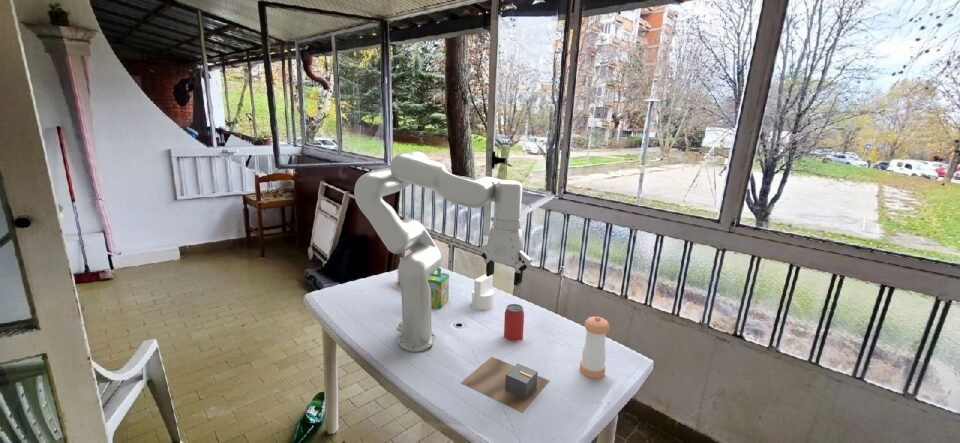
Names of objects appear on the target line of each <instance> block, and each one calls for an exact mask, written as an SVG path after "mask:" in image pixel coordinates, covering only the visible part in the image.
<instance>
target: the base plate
mask: <svg viewBox="0 0 960 443" xmlns="http://www.w3.org/2000/svg"><path fill="white" fill-rule="evenodd" d="M514 366H515V365H513V364H510V363H508V362H506V361H503V360H500V359H498V358H497V357H494V356H491V357H489V358H488V359H487V360H486V361H484V363H482V364H480V365H479V367H478V368H477V369H475V370H474V371H473V372H471V373H470V374H469V375H468V376H467V377H466V378H465V379H463V380H462V381H460V384H462V385H463V386H466V387H468V388H469V389H472V390H474V391H477V392H478V393H481V394H482V395H485V396H487V397H489V398H491V399H492V400H495V401H497V402H499V403H501V404H502V405H505V406H506V407H509V408H512V409H514V410H516V411H518V412H520V413H522V414H523V413H524V412H525V411H526V410H527V409H528V407H529V406H531V403H533V402H534V400H535V399H536V398H537V397H538V396H539V395H540V393H541V392H543V390H544V389H545V388H546V386H548V384H549V383H550V382H551V380H549V379H547V378H544V377H541V376H539V375H537V387H536V389H535V390H534V391H533V392H532V393H531V394H530V395H529V396H528V398H527V399H526V400H525V399H523V398H521V397H519V396H516V395H514V394H512V393H510V392H508V391H506V390H505V381H506V374H507V373H508V372H509V371H510V370H511V369H512V368H513V367H514Z"/></svg>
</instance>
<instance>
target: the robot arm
mask: <svg viewBox="0 0 960 443" xmlns="http://www.w3.org/2000/svg"><path fill="white" fill-rule="evenodd" d="M410 185H414V186H418V187H421V188H423V189H426V190H431V191H433V192H435V193H436V194H437V195H438V196H440V197H441V198H443V199H444V200H445V201H448V202H452V203H453V204H457V205H460V206H463V207H466V208H472V209H478V208H482V207H483V206H485V205H487V204H490V203H493V202H494V208H493V210H494V212H493V216H491V217H490V221H491V222H493V224H492V226H490V229H489V233H488V238H487V243H486V244H484V245H481V246H479V250H480V253H481V257H482V258H483V260H484V264H486V266H485V267H486V268H485V274H486V276H487V277H489V276H491V275H493V276H494V273H495V262H496V263H497V264H498V263H499V264H501V265H505V266H509V267H513V268H514V270H515V272H514V273H513V275H514V276H513V285H514V286H518V285H520V284H521V283H522V282H523V274H524V271H525V270H526V269H528V268H529V267H530V266H531V265H532V264H531V263H532V262H533V260H532V258H531V257H529V256H528V255H527V254H526V253H525V252H524V242H523V232H522V229H521V228H520V227H521V217H522V216H521V215H522V214H521V213H522V200H523V199H522V198H523V184H522V183H521V182H520V181H517V180H513V179H499V178H496V177H492V176H481V177H477V178H476V179H473V180H471V179H467V178H464V177H461V176H459V175H458V176H457V175H454V174H452V173H451V172H449V171H448V168H447V166H446V164H444V163H442V162H439V161H436V160H433V159H429V157H428V156H427V155H426V154H425V153H423V152H422V151H417V150H412V151H405V152H400V153H397V154H396V155H394V157H393V158H392V159H391V161H390V162H389V166H388V167H387V168H386V167H385V168H382V169H375V170H372V171H368V172H366V173H364V174H363V175H361V176H360V177H359V178H358V179H357V181H355V185H354V190H353V191H354V192H353V193H354V200H355V203H356V204H357V206H358V208H359V209H360V211H361V212H362V214H363V215H364V216H365V217H366V219H367V220H368V221H369V222H370V224H371V226H372V227H373V229H374V230H375V233H376V234H377V235H378V237H379V239H380V240H381V241H382V243H383V244H384V246H385V247H386V249H387V250H388V251H389V252H390V253H392V254H394V255H399V254H403V253H404V252H406V251H408V250H409V251H410V253H408V254H407V255H405V256H404V257H403V258H402V259H401V260H400V262H399V263H398V267H397V275H398V278H399V283H400V290H401V291H400V293H401V308H402V309H401V312H402V314H401V315H402V317H401V319H402V320H401V321H400V322H398V326H397V327H396V329H395V330H396V331H398V332H400V336H399V337H398V341H397V342H398V347H400V348H401V349H402V350H404V351H406V352H411V353H420V352H425V351H427V350H430V349H431V348H432V347H433V346H434V345H433V344H434V342H435V339H436V338H437V337H436V334H435V333H434V332H433V331H432V330H433V329H432V307H431V289H430V286H429V283H428V277H429V276H430V275H431V274H432V273H433V272H437V269H438V268H441V266H442V262H443V257H442V253H441V251H440V249H439V247H438V246H437V244H436V243H435V240H433V238H432V236H431V235H430V233H429V232H428V230H427V229H426V227H425V226H424V224H422V223H421V222H420V221H419V220H417V219H415V218H411V217H410V218H404V219H401V218H400V216H399V215H398V214H397V212H396V210H395V208H393V206H392V205H390V204H389V203H388V202H387V201H385V200H384V199H383V197H386V196H389V195H392V194H395V193H398V192H399V191H402V190H404V189H405V188H407V187H409V186H410ZM522 261H524V264H523V263H522Z"/></svg>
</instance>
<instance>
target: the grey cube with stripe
mask: <svg viewBox="0 0 960 443" xmlns="http://www.w3.org/2000/svg"><path fill="white" fill-rule="evenodd" d="M513 366H514V367H513V368H512V369H511V370H510V371H509V372H508V373H507V374H506V381H505V390H506V391H508V392H510V393H512V394H514V395H516V396H519V397H521V398H523V399H525V400H526V399H527V398H528V396H529V395H530V394H531V393H532V392H533V391H534V390H535V389H536V387H537V376H539V375H538V371H537V370H535V369H532V368H530V367H528V366H525V365H522V364H520V363H517V364H515V365H513Z"/></svg>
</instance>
